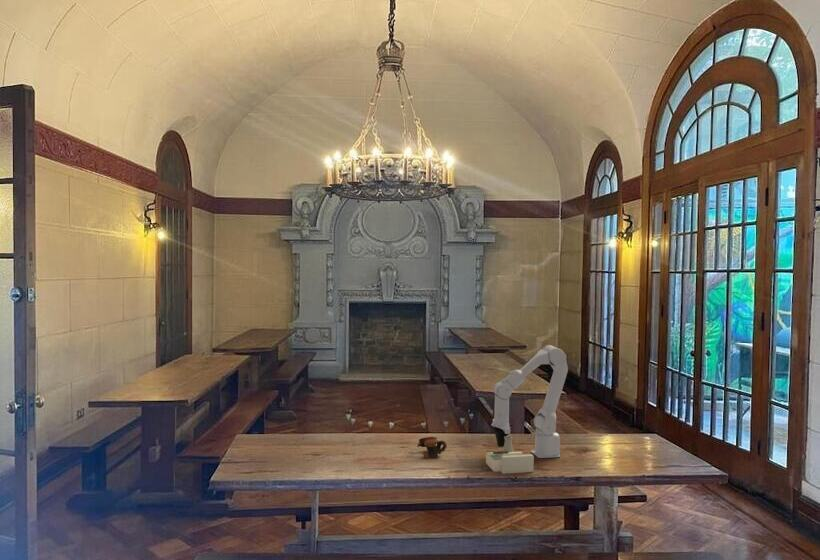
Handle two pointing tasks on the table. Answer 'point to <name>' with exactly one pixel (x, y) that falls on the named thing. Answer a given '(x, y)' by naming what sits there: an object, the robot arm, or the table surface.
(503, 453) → the pad
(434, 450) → the pottery mug
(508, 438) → the grey vase
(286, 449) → the table surface
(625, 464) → the table surface
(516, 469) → the gauge frame
